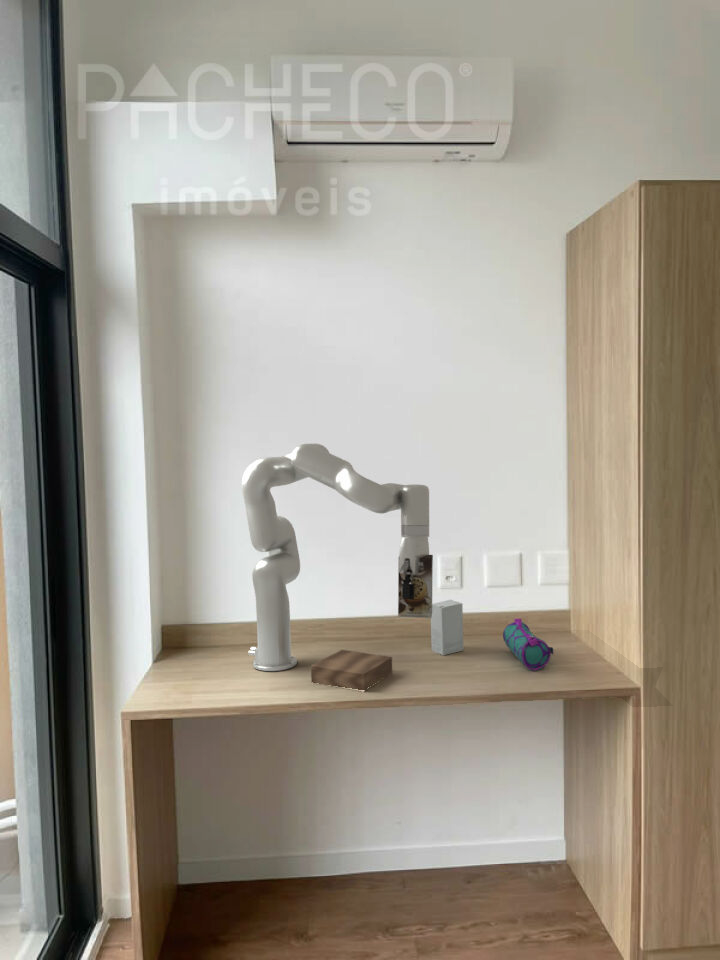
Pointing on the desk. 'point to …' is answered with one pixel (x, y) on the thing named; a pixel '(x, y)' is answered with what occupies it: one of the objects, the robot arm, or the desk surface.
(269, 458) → the robot arm
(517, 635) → the pencil case
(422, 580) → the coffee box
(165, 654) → the desk surface
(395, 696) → the desk surface
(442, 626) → the skincare box
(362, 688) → the walnut block
